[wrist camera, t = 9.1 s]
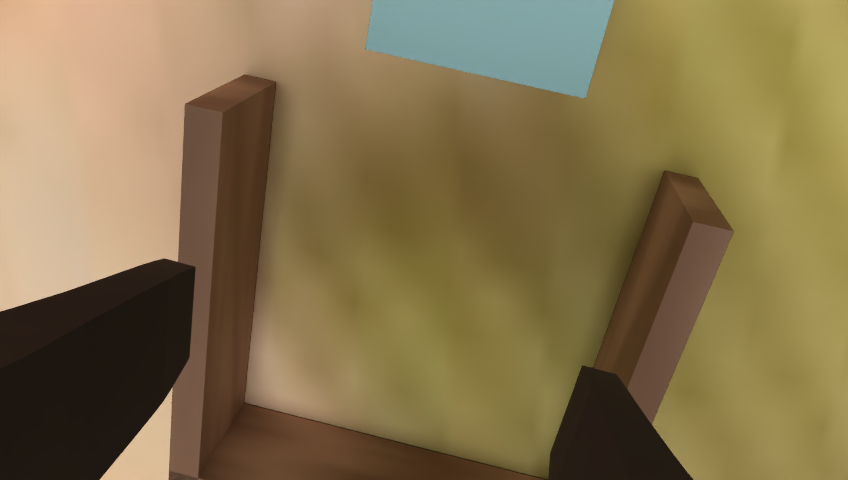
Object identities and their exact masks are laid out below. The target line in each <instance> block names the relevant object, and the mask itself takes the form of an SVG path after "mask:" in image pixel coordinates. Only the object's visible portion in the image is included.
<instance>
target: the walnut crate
mask: <svg viewBox="0 0 848 480" xmlns="http://www.w3.org/2000/svg"><path fill="white" fill-rule="evenodd" d="M275 88H276V82H275V81H270V80H266V79H261V78H257V77H253V76H248V75H243V76H241V77H239V78H237V79H235V80H233V81H231V82H229V83H227V84H225V85H223V86H221V87H219V88H216V89H214V90H212V91H210V92H208V93H206V94H204V95H202V96H200V97H198V98H196V99H194V100H192V101H190V102H188V103H186V104H185V117H184V140H183V163H182V186H181V209H180V232H179V255H178V262H180V263H184V264H188V265H191V266H195V267H196V271H195V285H194V300H193V314H192V329H191V343H190V358H189V360H188V362H187V363H186V365H185V367H184V368H183V370H182V372H181V374H180V375H179V377H178V379H177V380H176V382H175V384H174V385H173V393H172V416H171V439H170V462H169V480H544V479H540V478H536V477H532V476H528V475H524V474H520V473H516V472H512V471H508V470H504V469H501V468H497V467H493V466H489V465H485V464H481V463H477V462H473V461H469V460H465V459H461V458H457V457H453V456H449V455H445V454H441V453H438V452H434V451H430V450H426V449H422V448H418V447H414V446H410V445H406V444H402V443H398V442H394V441H390V440H386V439H382V438H378V437H375V436H371V435H367V434H363V433H359V432H355V431H351V430H347V429H343V428H339V427H335V426H331V425H327V424H323V423H319V422H315V421H312V420H308V419H304V418H300V417H296V416H292V415H288V414H284V413H280V412H276V411H272V410H268V409H264V408H260V407H256V406H252V405H249V404H245V403H244V398H245V388H246V378H247V368H248V358H249V348H250V338H251V328H252V318H253V308H254V298H255V288H256V278H257V268H258V258H259V248H260V238H261V228H262V218H263V208H264V198H265V188H266V178H267V168H268V158H269V148H270V138H271V128H272V118H273V108H274V98H275ZM733 232H734V231H733V229H732V228H731V226H730V225H729V223H728V222H727V220H726V219H725V217H724V216H723V214H722V213H721V211H720V210H719V209H718V207H717V206H716V204H715V203H714V201H713V200H712V198H711V197H710V195H709V194H708V192H707V191H706V189H705V188H704V186H703V185H702V183H701V182H700V180H699V179H698V178H694V177H690V176H685V175H681V174H676V173H672V172H668V171H665V172H664V174H663V177H662V180H661V183H660V185H659V188H658V191H657V194H656V196H655V199H654V202H653V205H652V207H651V210H650V213H649V216H648V218H647V221H646V224H645V227H644V229H643V232H642V235H641V238H640V240H639V243H638V246H637V249H636V251H635V254H634V257H633V260H632V262H631V265H630V268H629V271H628V273H627V276H626V279H625V282H624V285H623V287H622V290H621V293H620V296H619V298H618V301H617V304H616V307H615V309H614V312H613V315H612V318H611V320H610V323H609V326H608V329H607V331H606V334H605V337H604V340H603V342H602V345H601V348H600V351H599V353H598V356H597V359H596V362H595V364H594V367H593V368H595V369H599V370H603V371H606V372H610V373H614V374H617V376H618V377H619V378H620V380H621V381H622V382H623V384H624V385H625V387H626V388H627V389H628V391H629V392H630V394H631V395H632V397H633V398H634V400H635V401H636V403H637V404H638V406H639V407H640V408H641V410H642V411H643V413H644V414H645V416H646V417H647V419H648V420H649V421H650V423H651V424H652V422H653V420H654V418H655V415H656V413H657V411H658V408H659V406H660V404H661V401H662V399H663V397H664V394H665V392H666V390H667V387H668V385H669V382H670V380H671V378H672V375H673V373H674V371H675V368H676V366H677V364H678V361H679V359H680V357H681V354H682V352H683V350H684V347H685V345H686V343H687V340H688V338H689V336H690V333H691V331H692V329H693V326H694V324H695V321H696V319H697V317H698V314H699V312H700V310H701V307H702V305H703V303H704V300H705V298H706V296H707V293H708V291H709V289H710V286H711V284H712V282H713V279H714V277H715V275H716V272H717V270H718V267H719V265H720V263H721V260H722V258H723V256H724V253H725V251H726V249H727V246H728V244H729V242H730V239H731V237H732V235H733Z"/></svg>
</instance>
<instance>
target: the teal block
mask: <svg viewBox="0 0 848 480" xmlns="http://www.w3.org/2000/svg"><path fill="white" fill-rule="evenodd" d="M613 3H614V0H373V2H372V8H371V15H370V21H369V28H368V35H367V41H366V48H365V49H366V50H371V51H375V52H379V53H384V54H388V55H393V56H397V57H402V58H406V59H411V60H415V61H420V62H424V63H428V64H433V65H437V66H442V67H446V68H451V69H455V70H460V71H464V72H469V73H473V74H477V75H482V76H486V77H491V78H495V79H500V80H504V81H509V82H513V83H517V84H522V85H526V86H531V87H535V88H540V89H544V90H549V91H553V92H558V93H562V94H566V95H571V96H575V97H580V98H584V99H585V98H586V94H587V91H588V88H589V84H590V81H591V78H592V74H593V71H594V67H595V64H596V61H597V57H598V54H599V51H600V47H601V44H602V40H603V37H604V34H605V30H606V27H607V23H608V20H609V17H610V13H611V10H612V7H613Z"/></svg>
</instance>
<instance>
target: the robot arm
mask: <svg viewBox="0 0 848 480" xmlns="http://www.w3.org/2000/svg"><path fill="white" fill-rule="evenodd" d="M195 271H196V267H195V266H191V265H188V264H184V263H180V262H176V261H172V260H168V259H161V260H157V261H153V262H150V263H147V264H143V265H140V266H137V267H135V268H132V269H129V270H126V271H123V272H120V273H117V274H115V275H112V276H109V277H106V278H103V279H100V280H98V281H95V282H92V283H89V284H86V285H83V286H80V287H78V288H75V289H72V290H69V291H66V292H63V293H60V294H57V295H54V296H50V297H47V298H44V299H41V300H37V301H34V302H31V303H28V304H24V305H21V306H18V307H15V308H11V309H8V310H5V311H1V312H0V480H100V478H101V477H102V476H103V475H104V474H105V472H106V471H107V470H108V469H109V468H110V466H111V465H112V464H113V463H114V461H115V460H116V459H117V458H118V457H119V455H120V454H121V453H122V452H123V451H124V449H125V448H126V447H127V446H128V445H129V443H130V442H131V441H132V440H133V438H134V437H135V436H136V435H137V434H138V432H139V431H140V430H141V429H142V427H143V426H144V425H145V424H146V422H147V421H148V420H149V419H150V418H151V416H152V415H153V414H154V413H155V411H156V410H157V409H158V408H159V406H160V405H161V404H162V402H163V401H164V399H165V398H166V396H167V395H168V393H169V392H170V390H171V388H172V387H173V385H174V384H175V382H176V380H177V379H178V377H179V375H180V374H181V372H182V370H183V368H184V367H185V365H186V363H187V362H188V360H189V358H190V343H191V329H192V314H193V300H194V285H195ZM549 480H693V479H692V477H691V476H690V475H689V474H688V473H687V471H686V470H685V469H684V467H683V466H682V465H681V464H680V462H679V461H678V460H677V458H676V457H675V456H674V455H673V453H672V452H671V451H670V449H669V448H668V447H667V445H666V444H665V442H664V441H663V440H662V438H661V437H660V436H659V434H658V433H657V431H656V430H655V429H654V427H653V426H652V424H651V423H650V421H649V420H648V419H647V417H646V416H645V414H644V413H643V411H642V410H641V408H640V407H639V406H638V404H637V403H636V401H635V400H634V398H633V397H632V395H631V394H630V392H629V391H628V389H627V388H626V387H625V385H624V384H623V382H622V381H621V380H620V378H619V377H618V376H617V374H614V373H610V372H606V371H603V370H599V369H595V368H591V367H587V366H583V365H582V368H581V371H580V373H579V376H578V379H577V382H576V384H575V387H574V390H573V392H572V395H571V398H570V401H569V403H568V406H567V409H566V412H565V414H564V417H563V420H562V423H561V425H560V428H559V431H558V433H557V436H556V439H555V442H554V444H553V447H552V450H551V453H550V466H549Z"/></svg>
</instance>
